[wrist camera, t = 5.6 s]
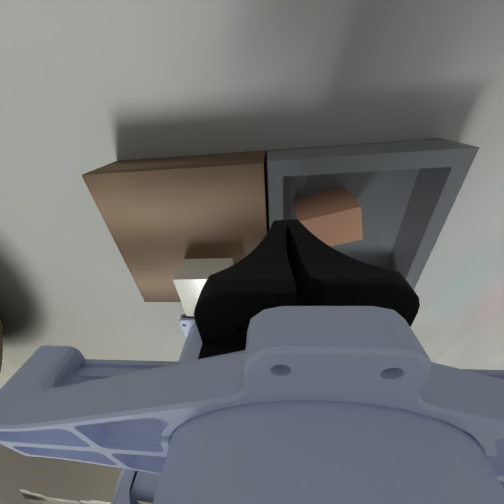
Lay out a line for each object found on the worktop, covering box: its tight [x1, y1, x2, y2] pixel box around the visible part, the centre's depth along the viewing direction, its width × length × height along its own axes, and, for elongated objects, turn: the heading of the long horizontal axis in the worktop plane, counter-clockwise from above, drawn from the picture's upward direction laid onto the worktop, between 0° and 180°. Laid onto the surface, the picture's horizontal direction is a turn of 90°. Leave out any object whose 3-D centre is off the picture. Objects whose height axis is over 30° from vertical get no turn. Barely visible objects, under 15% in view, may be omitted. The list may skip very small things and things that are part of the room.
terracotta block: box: [293, 186, 363, 246], centre depth 17 cm, size 4×4×2 cm
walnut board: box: [82, 151, 268, 302], centre depth 19 cm, size 12×12×4 cm
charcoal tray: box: [267, 138, 479, 290], centre depth 18 cm, size 12×12×4 cm
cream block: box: [173, 258, 234, 316], centre depth 18 cm, size 4×4×2 cm
